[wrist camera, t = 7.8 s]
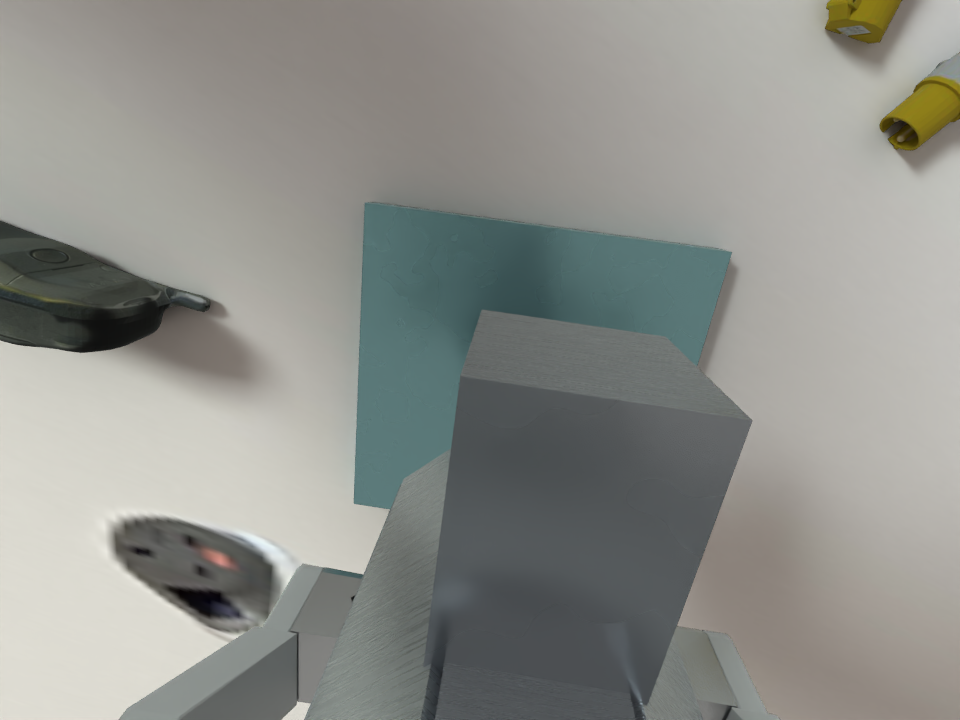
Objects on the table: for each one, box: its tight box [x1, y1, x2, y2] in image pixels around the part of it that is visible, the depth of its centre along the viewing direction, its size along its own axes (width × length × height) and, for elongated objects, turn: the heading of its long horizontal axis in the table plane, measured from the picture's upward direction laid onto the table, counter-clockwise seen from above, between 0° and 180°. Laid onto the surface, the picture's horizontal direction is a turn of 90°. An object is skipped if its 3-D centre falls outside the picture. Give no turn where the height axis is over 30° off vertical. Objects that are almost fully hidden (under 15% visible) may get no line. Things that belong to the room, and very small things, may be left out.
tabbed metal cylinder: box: [304, 309, 752, 720], centre depth 8 cm, size 10×6×8 cm, turn 172°
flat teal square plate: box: [354, 202, 732, 509], centre depth 18 cm, size 14×14×6 cm
